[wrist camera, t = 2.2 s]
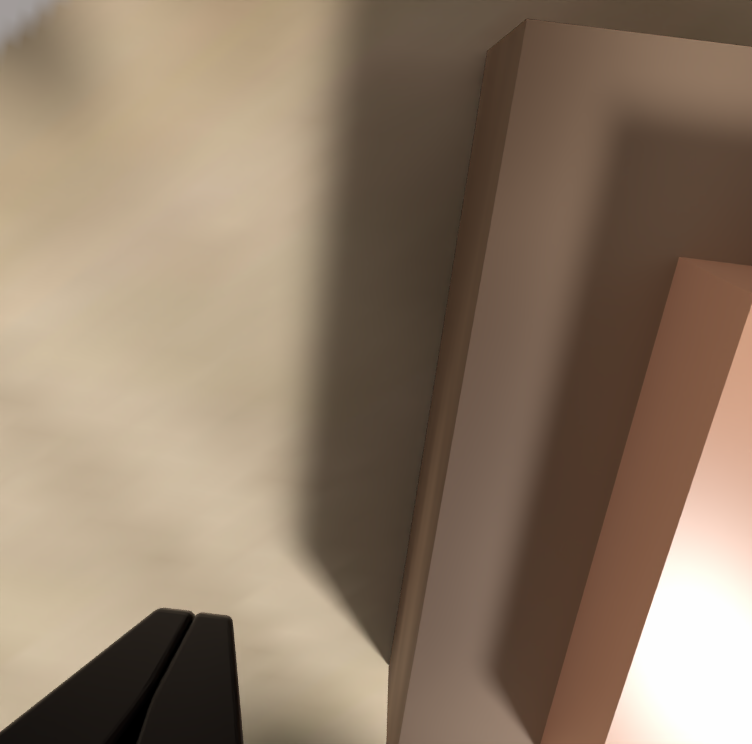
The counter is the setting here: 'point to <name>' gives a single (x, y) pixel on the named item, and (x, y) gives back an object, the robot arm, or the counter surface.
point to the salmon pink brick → (674, 541)
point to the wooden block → (553, 351)
